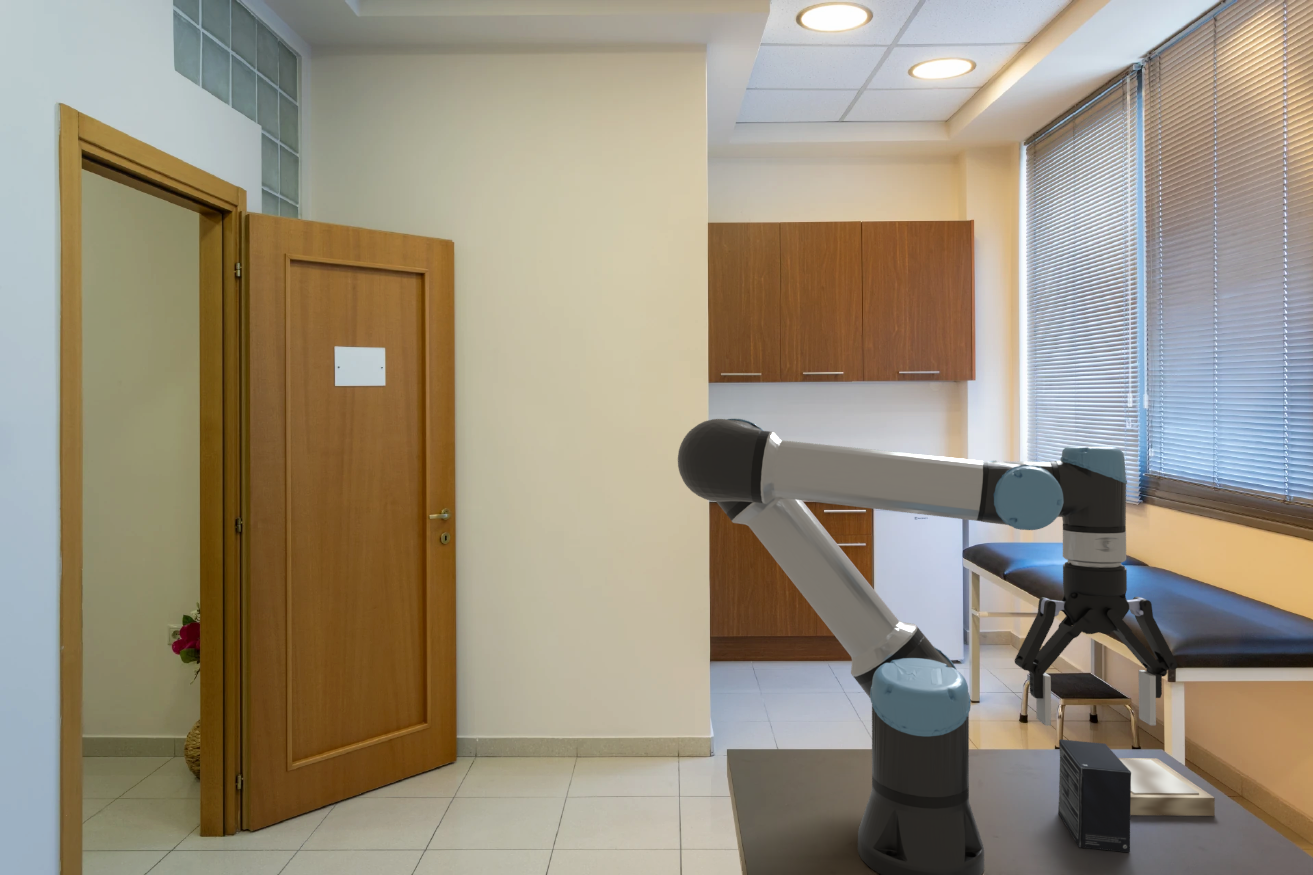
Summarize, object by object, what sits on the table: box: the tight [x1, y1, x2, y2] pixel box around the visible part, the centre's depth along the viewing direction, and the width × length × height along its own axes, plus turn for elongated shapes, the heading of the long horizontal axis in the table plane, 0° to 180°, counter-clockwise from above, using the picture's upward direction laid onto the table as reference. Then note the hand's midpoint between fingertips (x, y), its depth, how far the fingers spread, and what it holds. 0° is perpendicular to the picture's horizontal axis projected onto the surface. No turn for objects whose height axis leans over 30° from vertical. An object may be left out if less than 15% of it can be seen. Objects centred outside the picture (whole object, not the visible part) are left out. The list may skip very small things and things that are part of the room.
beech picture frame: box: [1118, 757, 1216, 817], centre depth 123 cm, size 12×14×3 cm
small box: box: [1057, 738, 1131, 853], centre depth 112 cm, size 11×6×10 cm, turn 168°
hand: (1095, 722), depth 112 cm, fingers open, 13 cm apart
